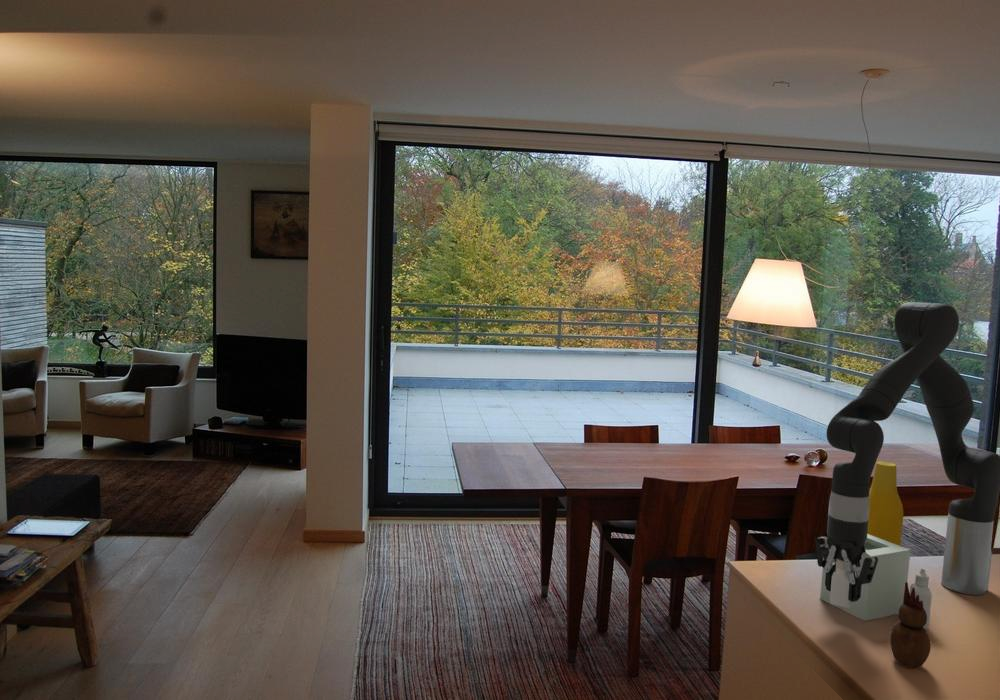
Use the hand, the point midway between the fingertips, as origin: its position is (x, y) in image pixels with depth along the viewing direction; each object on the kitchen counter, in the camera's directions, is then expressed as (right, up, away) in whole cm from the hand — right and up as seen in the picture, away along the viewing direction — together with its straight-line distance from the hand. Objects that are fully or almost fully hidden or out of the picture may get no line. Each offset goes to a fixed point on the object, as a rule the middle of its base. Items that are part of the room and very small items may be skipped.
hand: (841, 594), depth 163 cm
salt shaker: (0, -2, 0) cm, 2 cm away
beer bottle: (+19, -5, +25) cm, 32 cm away
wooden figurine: (+6, -9, -14) cm, 18 cm away
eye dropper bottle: (+17, -7, +4) cm, 19 cm away
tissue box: (+9, -6, +12) cm, 16 cm away
